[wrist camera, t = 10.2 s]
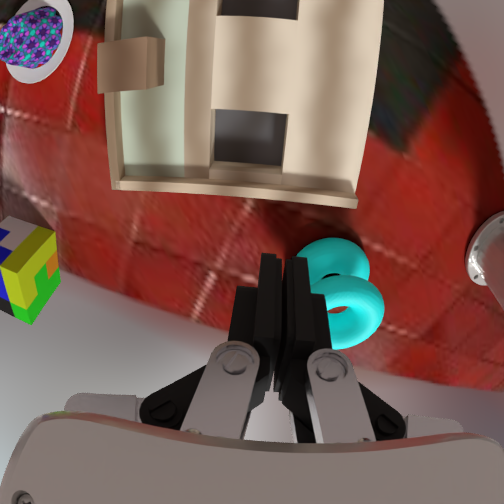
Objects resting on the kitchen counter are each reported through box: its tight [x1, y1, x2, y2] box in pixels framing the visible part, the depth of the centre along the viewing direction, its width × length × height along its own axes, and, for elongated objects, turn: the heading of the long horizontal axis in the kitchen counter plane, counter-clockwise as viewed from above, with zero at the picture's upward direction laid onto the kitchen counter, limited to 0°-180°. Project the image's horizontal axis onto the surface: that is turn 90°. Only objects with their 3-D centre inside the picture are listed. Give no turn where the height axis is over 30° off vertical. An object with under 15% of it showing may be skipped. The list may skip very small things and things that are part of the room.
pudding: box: [0, 0, 74, 83], centre depth 21 cm, size 12×12×5 cm
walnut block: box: [97, 36, 165, 94], centre depth 22 cm, size 4×4×4 cm
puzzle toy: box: [0, 216, 61, 325], centre depth 36 cm, size 10×10×10 cm
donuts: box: [297, 238, 384, 350], centre depth 35 cm, size 10×10×10 cm
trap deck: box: [104, 0, 384, 209], centre depth 24 cm, size 24×25×4 cm
